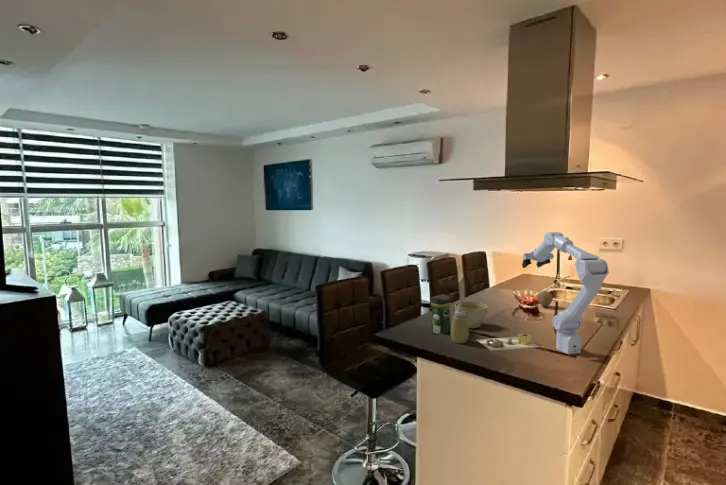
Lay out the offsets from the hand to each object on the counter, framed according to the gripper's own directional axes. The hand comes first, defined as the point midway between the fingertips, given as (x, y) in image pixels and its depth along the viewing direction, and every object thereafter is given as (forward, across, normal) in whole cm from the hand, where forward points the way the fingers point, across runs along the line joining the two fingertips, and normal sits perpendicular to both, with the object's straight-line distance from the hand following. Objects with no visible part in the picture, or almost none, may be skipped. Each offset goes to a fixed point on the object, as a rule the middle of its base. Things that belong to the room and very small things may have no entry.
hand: (530, 266), depth 195 cm
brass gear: (+7, +13, +35) cm, 38 cm away
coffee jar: (+26, +43, +20) cm, 54 cm away
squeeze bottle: (+14, +40, +31) cm, 52 cm away
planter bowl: (+31, +24, +16) cm, 43 cm away
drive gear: (+7, +27, +35) cm, 45 cm away
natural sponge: (+51, -35, -1) cm, 62 cm away
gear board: (+8, +20, +35) cm, 42 cm away
